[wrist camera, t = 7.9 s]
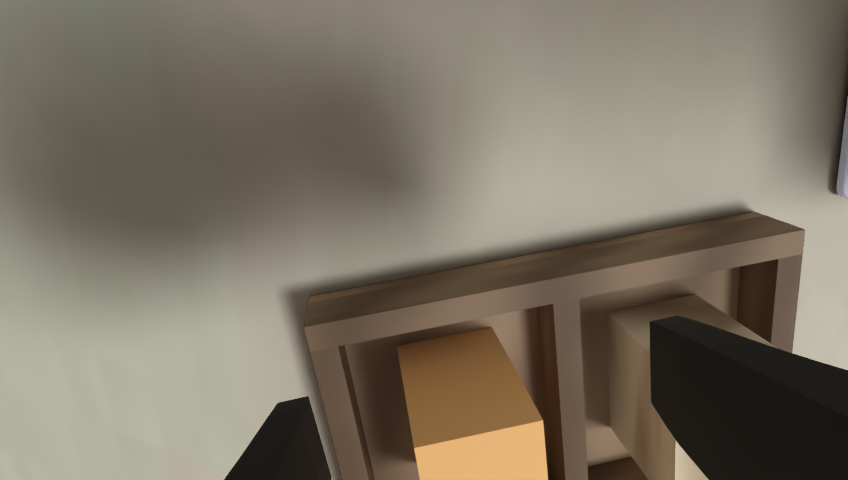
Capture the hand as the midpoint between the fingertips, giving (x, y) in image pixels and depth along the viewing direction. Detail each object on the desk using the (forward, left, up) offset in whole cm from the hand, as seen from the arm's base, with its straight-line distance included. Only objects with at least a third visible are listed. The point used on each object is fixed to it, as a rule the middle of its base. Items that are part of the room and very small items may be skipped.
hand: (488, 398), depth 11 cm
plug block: (0, +7, -10) cm, 12 cm away
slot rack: (-5, +8, -10) cm, 14 cm away
